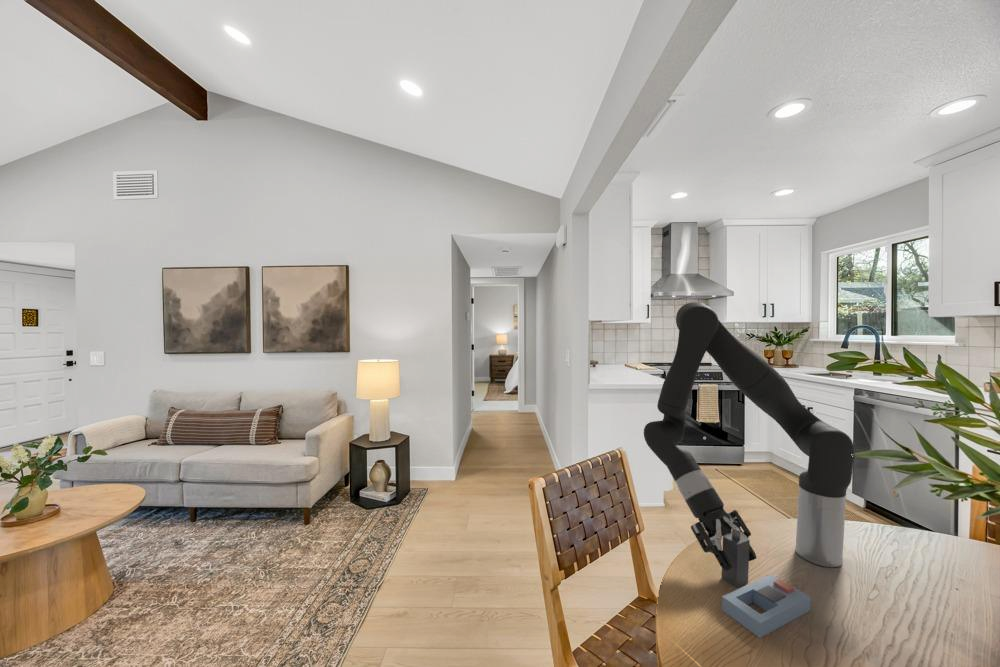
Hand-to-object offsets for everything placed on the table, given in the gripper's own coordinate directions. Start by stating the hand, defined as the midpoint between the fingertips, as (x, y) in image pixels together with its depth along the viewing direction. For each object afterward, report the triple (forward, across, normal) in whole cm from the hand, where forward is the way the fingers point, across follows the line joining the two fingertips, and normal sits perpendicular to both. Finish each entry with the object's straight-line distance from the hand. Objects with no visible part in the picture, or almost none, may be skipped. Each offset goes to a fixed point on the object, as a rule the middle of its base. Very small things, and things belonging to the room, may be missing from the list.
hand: (741, 564), depth 94 cm
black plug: (+2, 0, +4) cm, 5 cm away
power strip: (+9, -3, -2) cm, 9 cm away
